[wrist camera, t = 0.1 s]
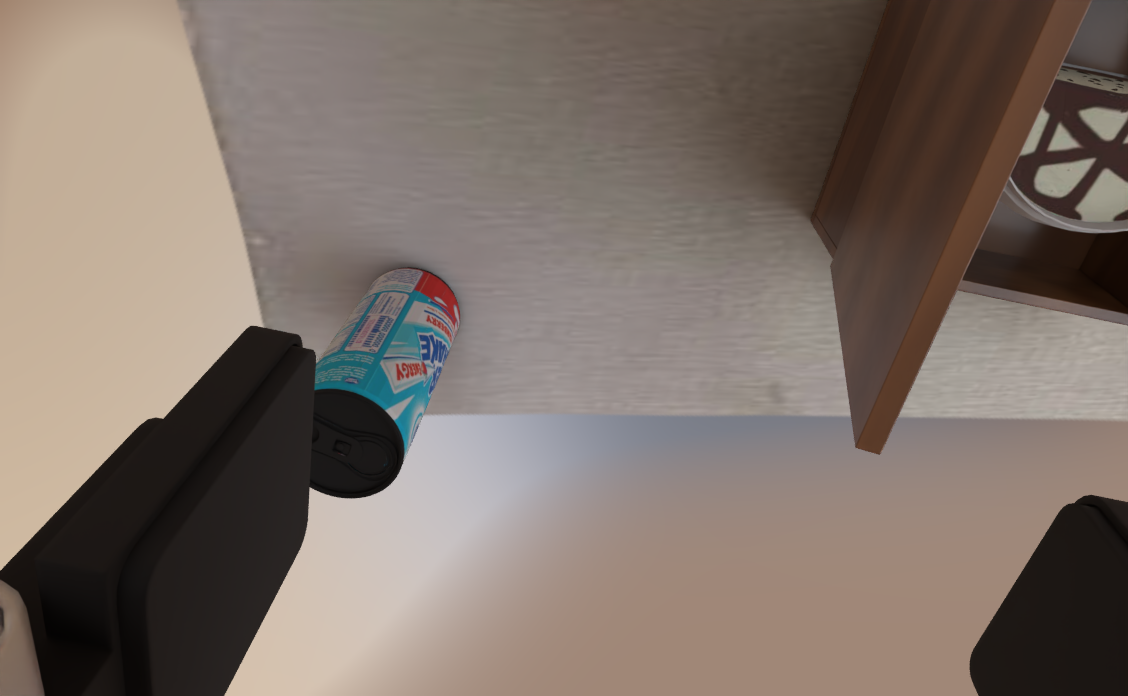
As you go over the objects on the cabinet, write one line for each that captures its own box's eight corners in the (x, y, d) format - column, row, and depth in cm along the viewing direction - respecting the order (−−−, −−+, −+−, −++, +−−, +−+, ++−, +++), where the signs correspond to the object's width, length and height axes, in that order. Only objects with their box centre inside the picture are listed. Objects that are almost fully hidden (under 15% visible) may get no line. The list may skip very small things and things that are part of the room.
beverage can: (430, 366, 52) (362, 519, 39) (350, 314, 51) (253, 454, 38) (481, 300, 50) (427, 440, 37) (399, 244, 48) (313, 368, 35)
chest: (1232, -7, 39) (1337, 6, 33) (1078, 276, 46) (1142, 328, 41) (915, -77, 39) (965, -76, 33) (809, 221, 46) (836, 265, 40)
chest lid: (1135, -91, 18) (1097, -98, 18) (880, 455, 25) (854, 448, 25) (980, -73, 32) (959, -78, 33) (846, 270, 40) (829, 266, 40)
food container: (872, 154, 43) (934, 215, 35) (915, 33, 40) (995, 66, 32) (1095, 197, 44) (1214, 269, 35) (1155, 80, 41) (1300, 126, 32)
